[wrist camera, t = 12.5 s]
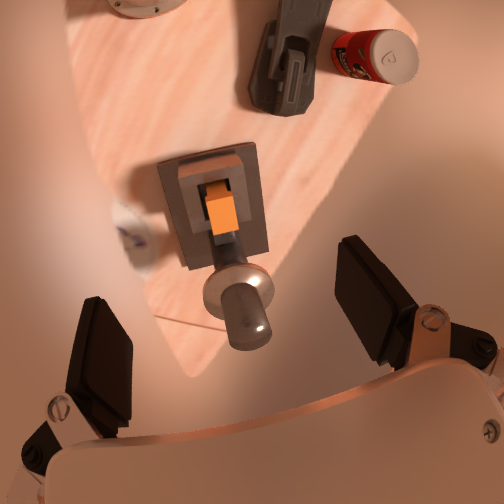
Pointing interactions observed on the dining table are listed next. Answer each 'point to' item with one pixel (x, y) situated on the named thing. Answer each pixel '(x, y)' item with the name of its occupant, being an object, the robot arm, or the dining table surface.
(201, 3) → the dining table surface
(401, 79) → the canned food
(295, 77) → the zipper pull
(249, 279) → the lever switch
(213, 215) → the orange tapered block
